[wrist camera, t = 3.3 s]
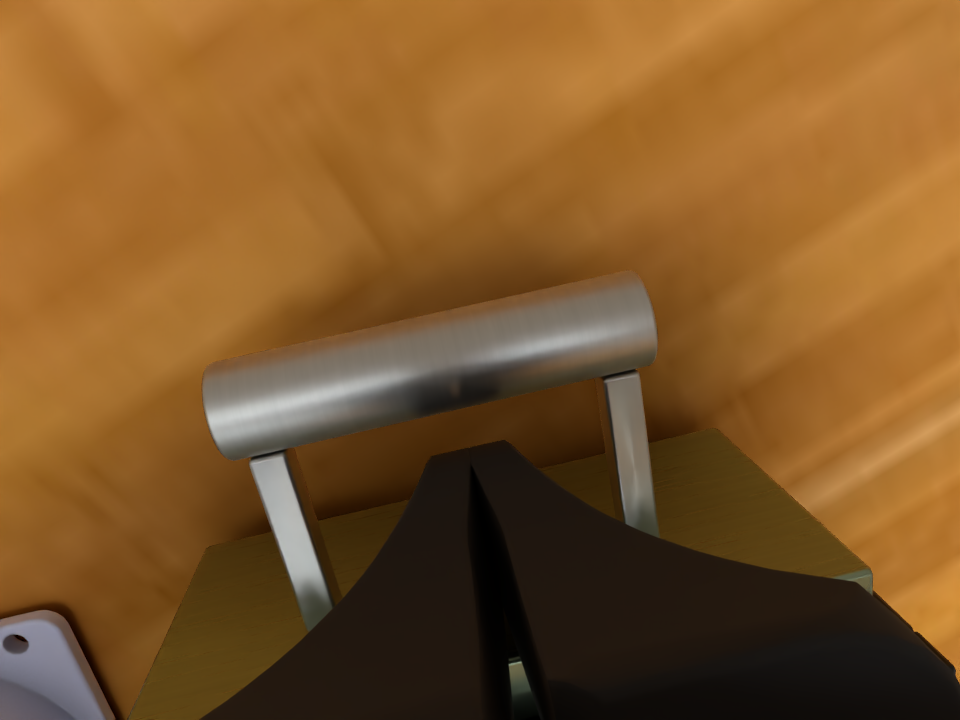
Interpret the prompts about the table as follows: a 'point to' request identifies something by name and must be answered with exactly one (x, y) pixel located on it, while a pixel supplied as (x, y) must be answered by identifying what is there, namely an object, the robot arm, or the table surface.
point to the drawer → (360, 535)
